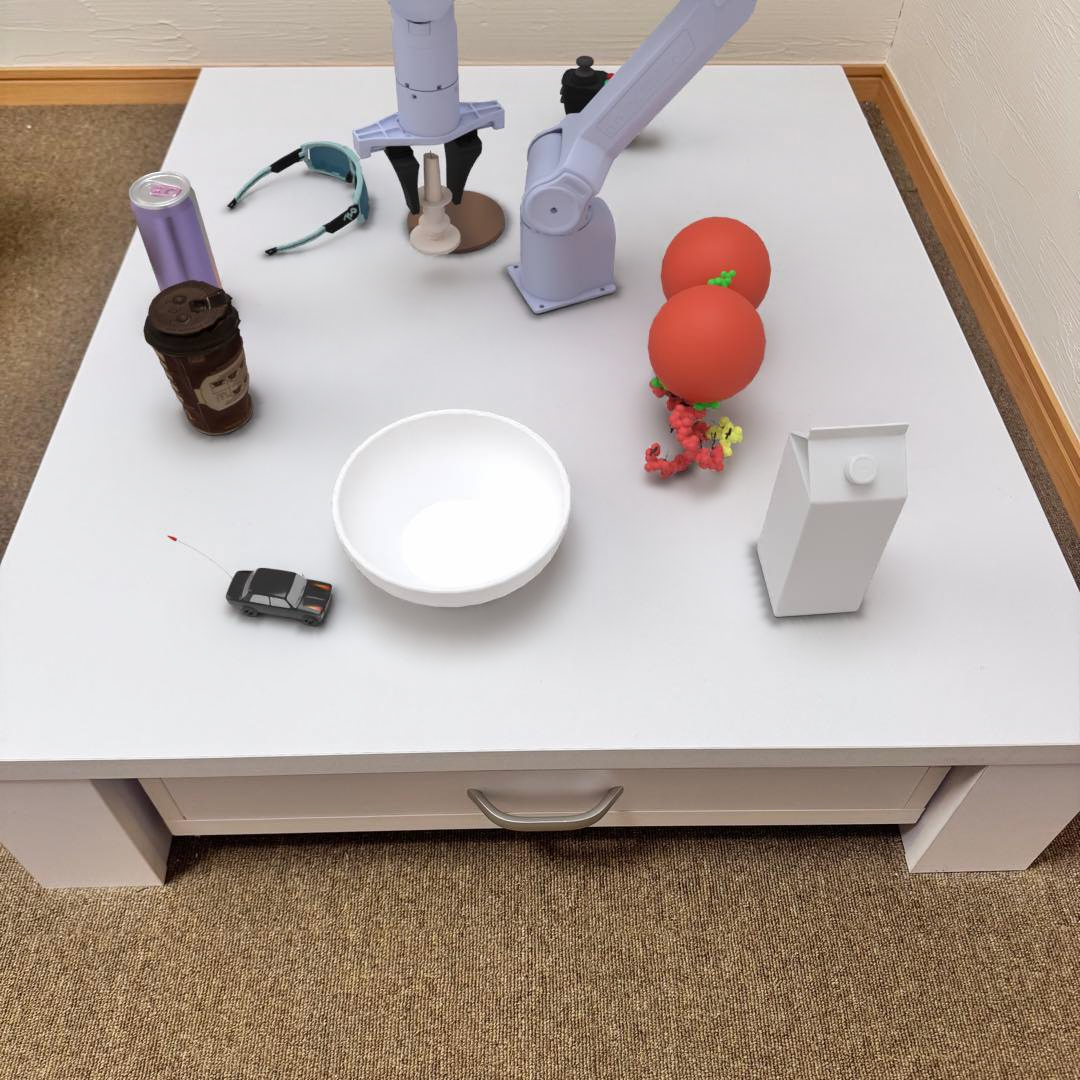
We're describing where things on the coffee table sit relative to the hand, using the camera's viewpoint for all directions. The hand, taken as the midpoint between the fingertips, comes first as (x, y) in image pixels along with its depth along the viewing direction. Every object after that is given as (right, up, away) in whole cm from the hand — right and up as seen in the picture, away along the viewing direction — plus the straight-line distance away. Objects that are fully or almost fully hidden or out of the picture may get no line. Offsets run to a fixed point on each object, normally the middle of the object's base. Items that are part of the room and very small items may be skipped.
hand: (434, 203), depth 107 cm
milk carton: (+33, -37, -16) cm, 53 cm away
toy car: (-13, -39, -18) cm, 45 cm away
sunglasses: (-16, +4, +15) cm, 22 cm away
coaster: (+1, +2, +13) cm, 14 cm away
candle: (0, -3, +4) cm, 5 cm away
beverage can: (-25, -10, +4) cm, 27 cm away
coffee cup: (-20, -22, -5) cm, 30 cm away
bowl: (+3, -34, -14) cm, 38 cm away
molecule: (+26, -20, -3) cm, 33 cm away
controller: (+19, +15, +24) cm, 34 cm away
